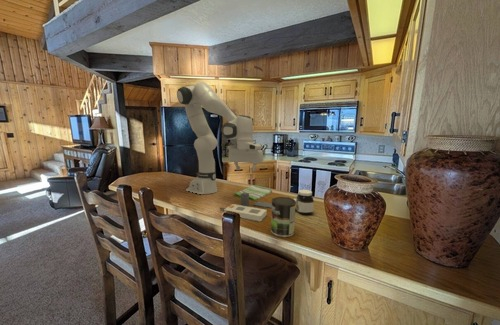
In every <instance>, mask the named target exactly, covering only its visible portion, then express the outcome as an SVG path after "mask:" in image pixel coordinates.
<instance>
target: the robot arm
mask: <svg viewBox="0 0 500 325" xmlns="http://www.w3.org/2000/svg"><path fill="white" fill-rule="evenodd" d="M176 97H177V98H176V99H177V100H178V102H179V103H180V104H181V105H184V108H185V113H186V117H187V120H188V122H189V125H190V128H191V130H192V132H194V133H195V135H196V137H197V138H196V139H195V140H194V142H193V147H194V149H195V151H196V155H197V159H198V172H196V177H194V179H192V180H191V181H189V185H188V187H187V188H186V189H185V192H188V191H190V192H189V193H192V192H193V193H192V194H195V193H197V194H196V195H199V194H201V195H208V194H214V193H217V192H218V187H217V181H216V178H217V175H216V174H217V173H216V172H217V171H216V161H215V160H216V159H215V158H214V154H213V153H214V151H213V150H215V149H216V147H217V146H218V140H217V138H216V137H215V135H214V133H213V131H212V129H211V128H210V126H209V124H208V121H207V118H206V115H205V113H204V110H205V111H206V112H208V113H212V114H214V115H218V116H221V117H223V118H224V119H225V120H226V121H227V122H225V123H224V124H223V125H222V128H221V133H222V136H223V137H224V138H225V139H228V140H236V144H235V145H233V144H231V145H230V146H229V147H228V161H229V162H231V163H232V162H233V163H234V166H235V169H236V171H240V169H241V166H239V163H249V164H252V166H253V167H251V169H250V170H251V172H255V171H256V167H257V164H262V163H263V162H264V153H263V150H262V144H259V143H257V142H254V138H253V137H254V136H253V133H254V123H253V119H252V116H249V115H243V114H239V115H237V114H236V113H235V112H234V111H233V110H232V108H230V107H229V106H228V105H227V104H226V103H225V102H224V101H223V100H222V99H221V98H220V96H219V94H217V93H216V91H215V90H214V89H213V88H212V87H211V86H210V85H209V84H208V83H206V82H204V81H199V82H197V83H196V84H191V85H187V86H181V87H179V88H177V91H176ZM203 109H204V110H203Z"/></svg>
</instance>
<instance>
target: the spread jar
mask: <svg viewBox="0 0 500 325" xmlns="http://www.w3.org/2000/svg"><path fill="white" fill-rule="evenodd" d="M293 199H294V200H295V201H296V205H295V210H296V211H297V213H298V214H301V215H305V216H309V215H311V214H313V212H314V207H315V206H314V205H315V204H314V202H315V201H314V198H313V191H311V190H309V189H299V190H298V194H297V196H296V198H293Z"/></svg>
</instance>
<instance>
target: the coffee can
mask: <svg viewBox="0 0 500 325" xmlns="http://www.w3.org/2000/svg"><path fill="white" fill-rule="evenodd" d="M271 203H272V209H271V220H270V221H271V222H270V223H271V224H270V225H271V226H270V232H271V234H273V235H274V236H275V237H281V238H289V237H292V236H293V235H294V234H295V222H296V221H295V220H296V201H295V200H294V198H291V197H286V196H278V197H274V198H272V199H271Z"/></svg>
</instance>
